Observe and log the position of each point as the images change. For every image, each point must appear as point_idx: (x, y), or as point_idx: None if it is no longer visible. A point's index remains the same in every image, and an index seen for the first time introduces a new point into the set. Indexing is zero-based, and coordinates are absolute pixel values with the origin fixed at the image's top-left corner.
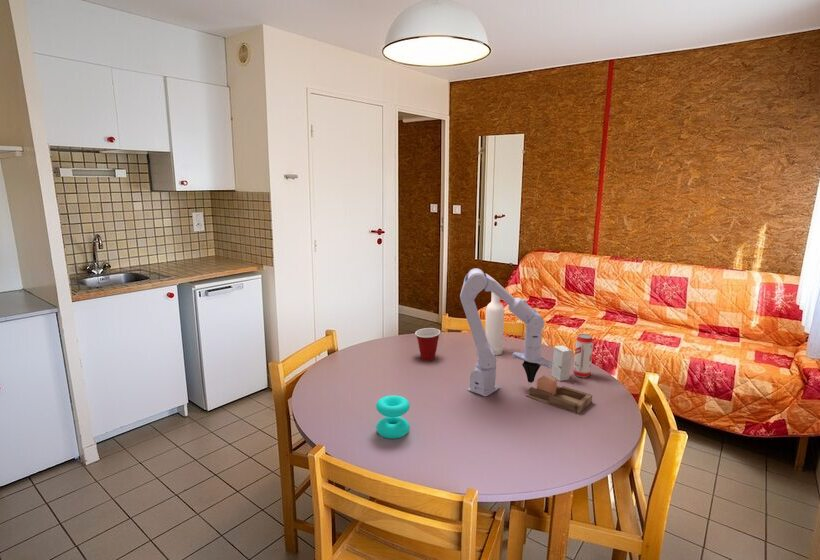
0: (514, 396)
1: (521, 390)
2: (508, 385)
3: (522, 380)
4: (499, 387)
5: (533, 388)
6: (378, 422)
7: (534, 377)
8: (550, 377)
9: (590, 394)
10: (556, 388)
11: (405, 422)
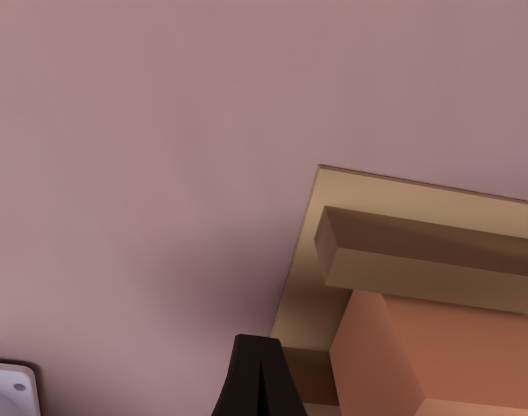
0: (190, 407)
1: (189, 317)
2: (46, 288)
3: (80, 109)
4: (29, 381)
5: (312, 413)
6: None
7: (289, 382)
8: (521, 412)
9: None
10: (526, 317)
11: None
